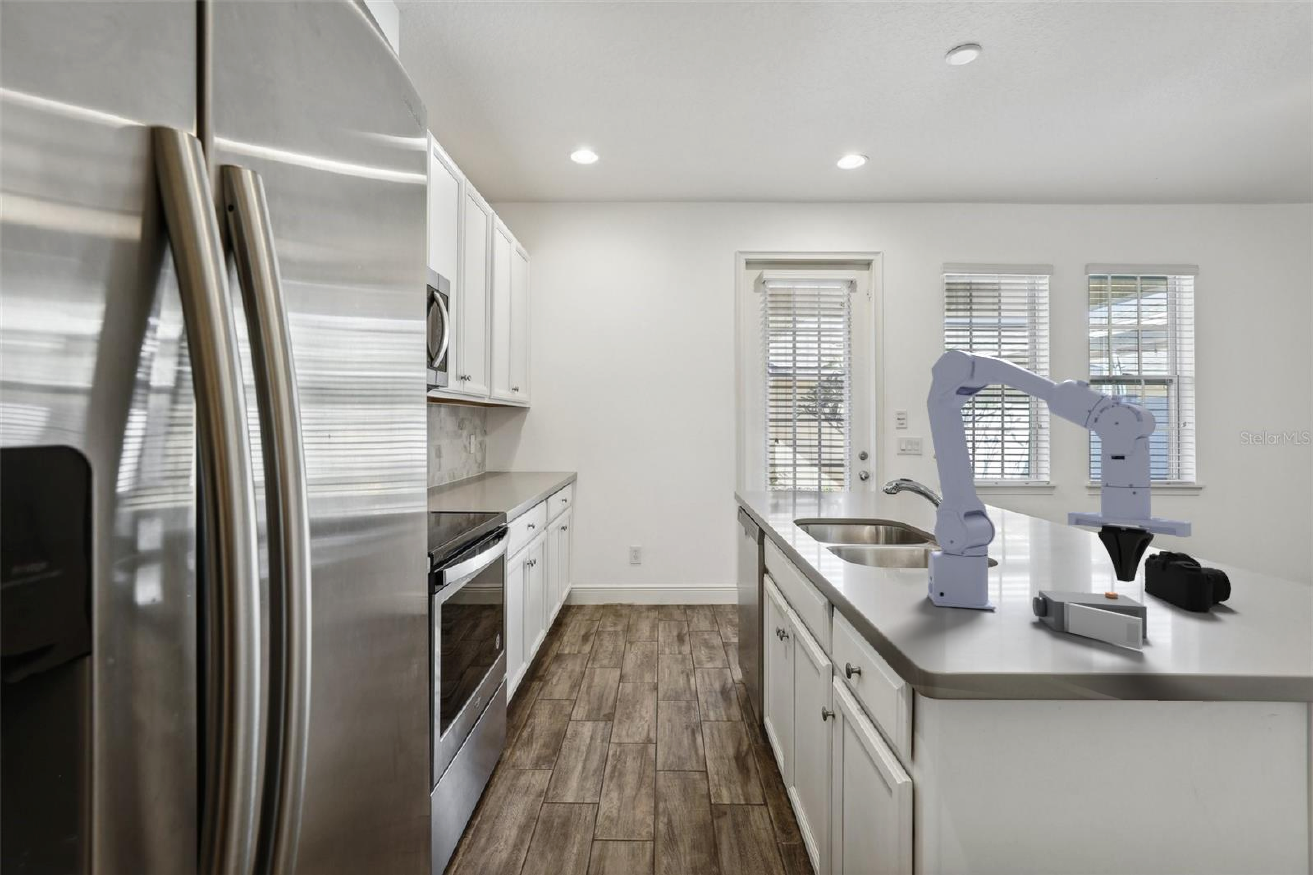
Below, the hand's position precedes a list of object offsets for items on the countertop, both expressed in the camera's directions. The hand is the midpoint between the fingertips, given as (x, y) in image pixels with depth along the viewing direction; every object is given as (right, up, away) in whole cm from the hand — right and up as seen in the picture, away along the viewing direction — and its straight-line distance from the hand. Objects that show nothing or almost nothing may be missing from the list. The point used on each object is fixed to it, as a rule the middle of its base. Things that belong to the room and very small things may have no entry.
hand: (1125, 580), depth 88 cm
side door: (-4, -9, 0) cm, 9 cm away
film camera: (+28, -9, +21) cm, 36 cm away
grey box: (0, -9, +7) cm, 11 cm away
